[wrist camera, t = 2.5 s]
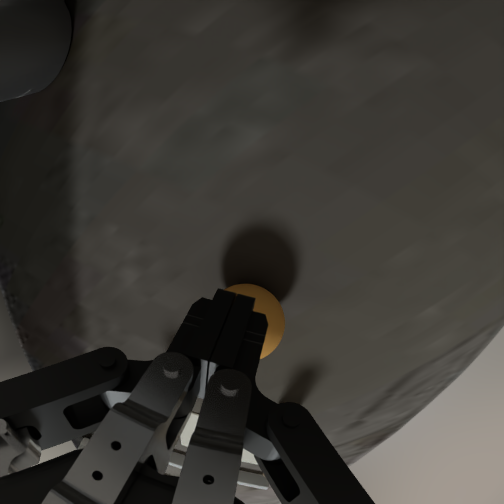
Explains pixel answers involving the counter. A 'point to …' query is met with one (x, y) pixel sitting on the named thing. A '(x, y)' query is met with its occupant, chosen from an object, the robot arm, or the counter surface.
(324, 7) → the counter surface
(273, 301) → the ball
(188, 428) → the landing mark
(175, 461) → the wall
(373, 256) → the counter surface
